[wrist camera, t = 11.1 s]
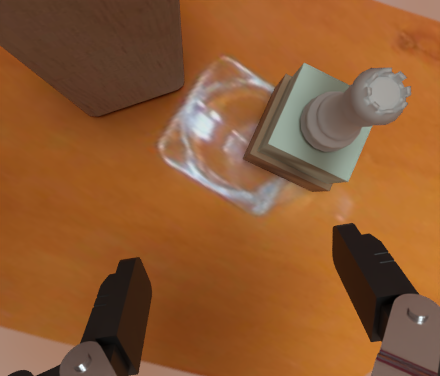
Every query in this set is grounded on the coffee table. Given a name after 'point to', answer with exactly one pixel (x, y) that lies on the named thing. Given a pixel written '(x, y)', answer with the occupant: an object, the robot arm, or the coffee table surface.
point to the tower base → (301, 135)
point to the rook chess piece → (354, 109)
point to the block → (98, 48)
